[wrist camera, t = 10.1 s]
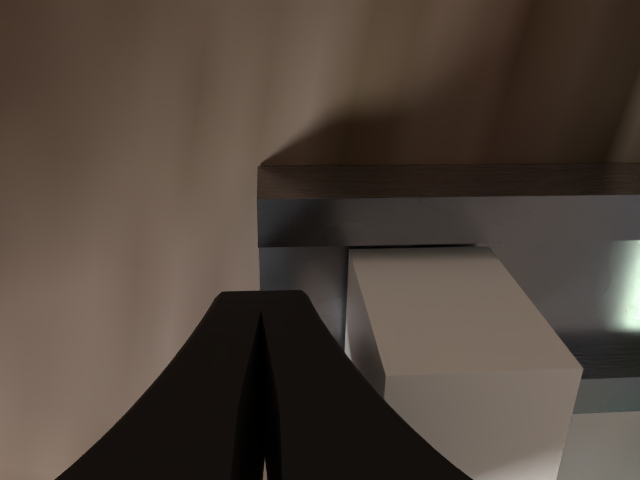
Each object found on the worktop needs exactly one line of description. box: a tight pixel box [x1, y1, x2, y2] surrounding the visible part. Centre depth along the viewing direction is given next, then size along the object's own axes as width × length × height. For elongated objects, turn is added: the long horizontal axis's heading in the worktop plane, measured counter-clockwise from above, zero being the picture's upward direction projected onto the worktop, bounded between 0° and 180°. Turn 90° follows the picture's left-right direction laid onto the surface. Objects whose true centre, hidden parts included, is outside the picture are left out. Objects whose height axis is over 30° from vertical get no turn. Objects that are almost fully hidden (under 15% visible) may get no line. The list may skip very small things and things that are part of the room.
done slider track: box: [257, 163, 640, 414], centre depth 11 cm, size 9×4×3 cm, turn 89°
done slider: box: [345, 246, 583, 480], centre depth 9 cm, size 2×2×3 cm
